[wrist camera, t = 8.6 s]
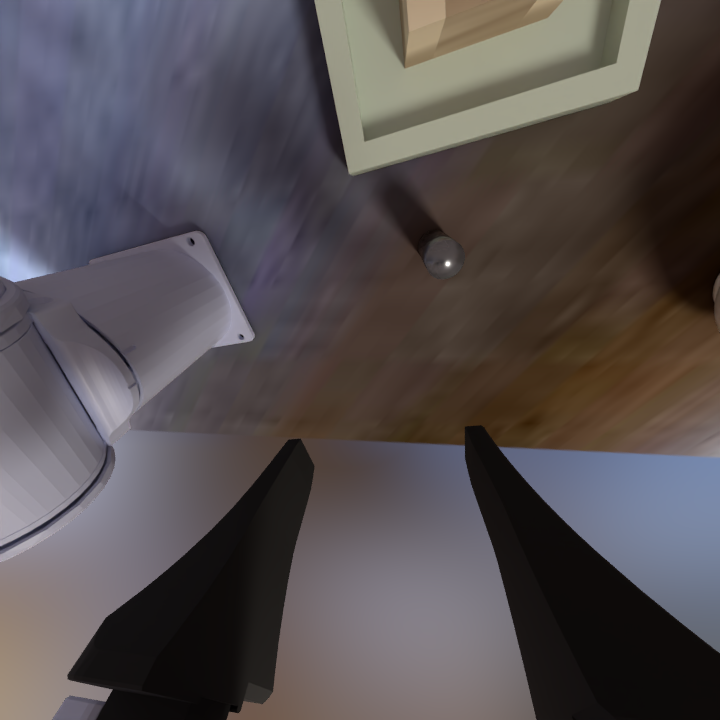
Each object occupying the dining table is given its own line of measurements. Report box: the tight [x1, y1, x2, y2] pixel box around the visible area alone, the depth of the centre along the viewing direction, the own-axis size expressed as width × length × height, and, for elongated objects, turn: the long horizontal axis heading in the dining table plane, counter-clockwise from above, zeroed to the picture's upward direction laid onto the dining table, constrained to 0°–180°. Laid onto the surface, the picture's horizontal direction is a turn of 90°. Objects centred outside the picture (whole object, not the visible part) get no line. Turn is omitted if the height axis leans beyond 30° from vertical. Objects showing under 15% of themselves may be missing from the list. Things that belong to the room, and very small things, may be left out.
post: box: [418, 230, 465, 279], centre depth 14 cm, size 2×2×4 cm
